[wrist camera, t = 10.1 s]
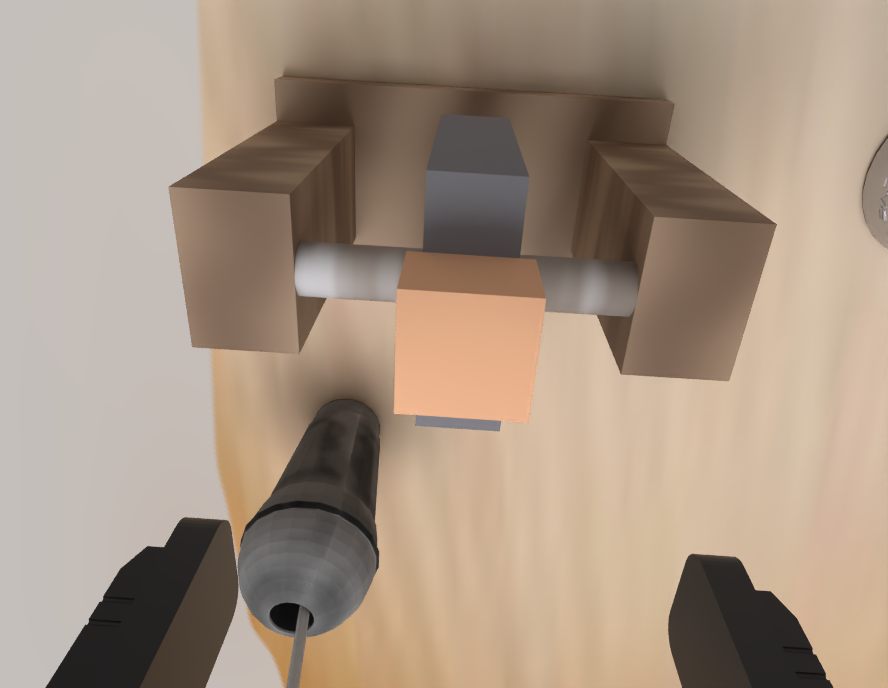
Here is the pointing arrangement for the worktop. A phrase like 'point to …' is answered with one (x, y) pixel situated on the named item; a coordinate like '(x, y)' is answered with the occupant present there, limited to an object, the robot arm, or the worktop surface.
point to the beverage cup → (316, 531)
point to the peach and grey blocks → (470, 286)
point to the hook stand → (402, 220)
